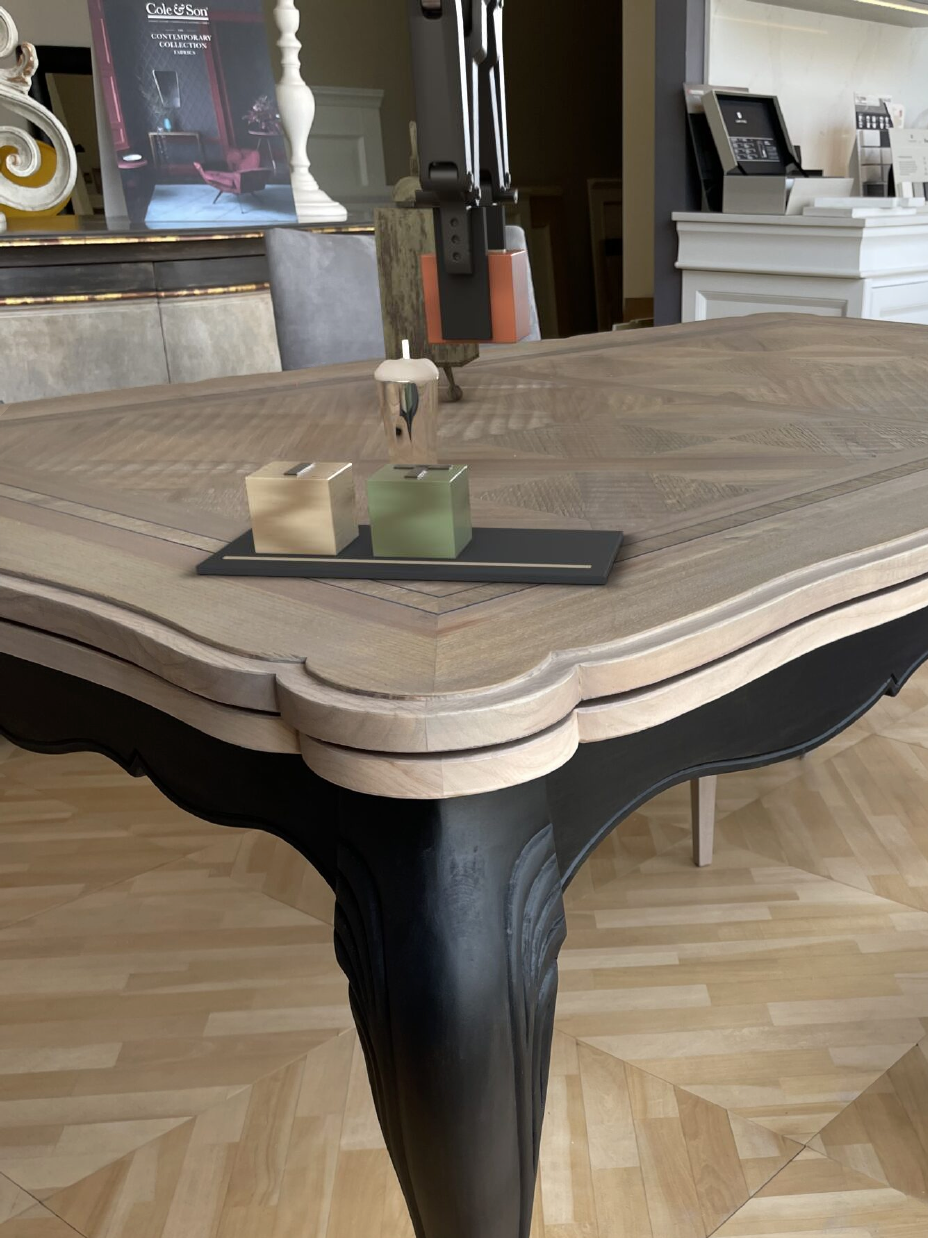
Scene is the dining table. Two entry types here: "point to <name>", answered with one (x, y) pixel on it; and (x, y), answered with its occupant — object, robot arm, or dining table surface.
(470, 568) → the word mat
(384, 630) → the dining table surface
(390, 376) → the milkshake
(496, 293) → the copper orange cube
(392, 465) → the frosted jade cube
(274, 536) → the slotted beige cube
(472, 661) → the dining table surface
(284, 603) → the dining table surface
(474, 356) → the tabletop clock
